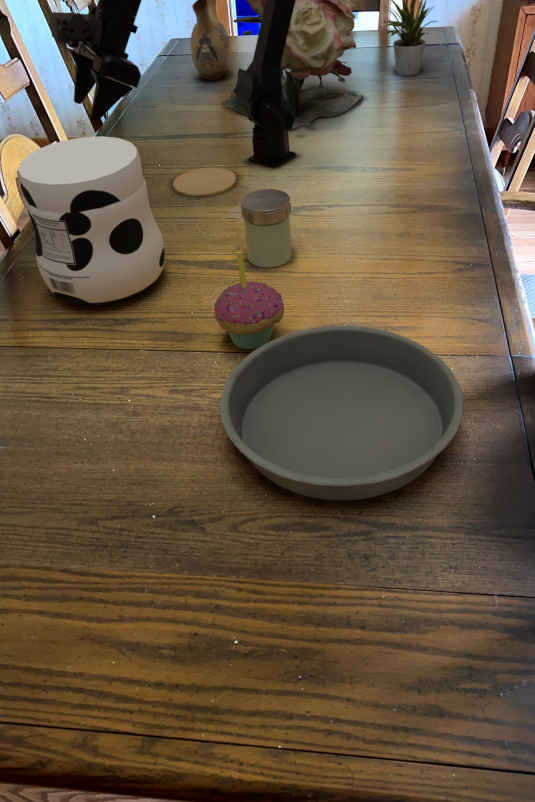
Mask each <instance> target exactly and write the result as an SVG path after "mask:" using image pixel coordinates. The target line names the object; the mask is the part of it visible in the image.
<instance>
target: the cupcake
mask: <svg viewBox="0 0 535 802" xmlns="http://www.w3.org/2000/svg"><path fill="white" fill-rule="evenodd" d="M239 247H240V246H239V244H236V252H235V254H236V255H235V256H236V261H237V269H238V274H239V279H240V282H237V283H235V284H233V285H231V286H228V287H227V288H226V289H224V290H222V292H221V293H220V294H219V296H218V297H217V298H216V301H215V303H214V311H213V312H214V313H213V315H214V319H215V320H216V322H217V324H218V325H219V327H220V328H221V329H223V330H225V331H226V332H227V333H228V335H229V338H230V339H231V341H232V343H233V344H234V345H235V347H238V348H240V349H243V350H254V349H255V350H256V349H258V348H259V347H261V346H263V345H265V344H266V343H268V342H270V341H271V340H270V339H271V335H272V332H273V328H274V327H275V324H278V323H280V322H281V321H282V319H283V317H284V315H285V314H284V313H285V305H284V299H283V296H282V293H279V292H278V291H277V290H276V289H275V288H274V287H273V286H272V285H268V284H267V283H265V282H264V283H263V282H259V281H247V278H246V271H245V264H244V260H243V259H244V258H243V253H242V250H240V248H239Z"/></svg>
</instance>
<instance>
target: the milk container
mask: <svg viewBox="0 0 535 802" xmlns="http://www.w3.org/2000/svg"><path fill="white" fill-rule="evenodd" d="M142 162H143V161H142V159H141V156H140V152H139V150H138V148H137V147H136V146H135V145H134V144H133V143H132V142H131V141H129V140H126V139H123V138H120V137H112V136H103V135H102V136H84V137H83V136H82V137H78V138H77V137H75V138H71V139H66V140H65V139H64V140H61V141H58V142H54V143H51V144H48V145H45V146H42V147H41V148H39V149H37V150H35V151H33V152H30V153H29V154H28V155H27V156H26V157H25V158H23V159H22V160H21V161H20V163H19V166H18V167H17V175H18V176H17V177H18V181H19V185H20V190H21V192H22V195H23V197H24V204H25V207H26V210H27V213H28V216H29V219H30V222H31V225H32V228H33V231H34V236H35V237H34V238H35V259H36V264H37V268H38V271H39V273H40V275H41V278H42V280H43V282H44V283H45V285H46V287H47V288H48V289H49V291H50V292H51V293H52V294H53V295H55V296H56V297H58V298H59V299H61V300H63V301H65V302H68V303H73V304H78V305H82V306H97V305H99V306H103V305H109V304H113V303H117V302H123V301H126V300H128V299H130V298H132V297H134V296H138V295H139V294H141V293H143V292H144V291H146V290H147V289H148V288H149V287H151V286H152V285H154V284H155V283H156V282H157V281H158V279H159V277H161V274H162V273H163V270H164V266H165V258H166V257H165V255H166V254H165V253H166V251H165V242H164V238H163V236H162V232H161V230H160V227H159V225H158V223H157V222H156V219H155V218H154V216H153V213H152V210H151V206H150V202H149V194H148V187H147V182H146V178H145V177H144V176H145V175H144V167H143V163H142Z"/></svg>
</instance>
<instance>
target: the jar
mask: <svg viewBox="0 0 535 802" xmlns="http://www.w3.org/2000/svg"><path fill="white" fill-rule="evenodd" d="M290 216H291V214H290V215H289V217H288V218H287V219H285V220H283V221H281V222H279V223H275V224H270V225H257V224H252V223H249V222H247V221H245V220H244V219H243V224H244V234H245V244H246V254H247V260H248V262H249V263H250V264H252V265H253V266H256V267H259V268H276V267H279V266H282V265H284V264H286V263H288V262H289V261H290V260H291V258H292V257H293V254H292V238H291V237H292V235H291V234H292V233H291V218H290Z"/></svg>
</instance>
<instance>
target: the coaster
mask: <svg viewBox="0 0 535 802" xmlns="http://www.w3.org/2000/svg"><path fill="white" fill-rule="evenodd" d="M172 183H173V184H172V185H173V189H174V190H175V191H176V192H177V193H179V194H181V195H184V196H187V197H188V196H190V197H207V196H214V195H218V194H220V193H223V192H227V190H229V189H231V188H232V187H234V186H235V184H236V183H237V176H236V174H235V173H234V172H233V171H231V170H229V169H226V168H222V167H201V168H200V167H199V168H195V169H191V170H188V171H186V172H183V173H181V174H179V175H178V176H177V177H176V178H174V180H173V182H172Z"/></svg>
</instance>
